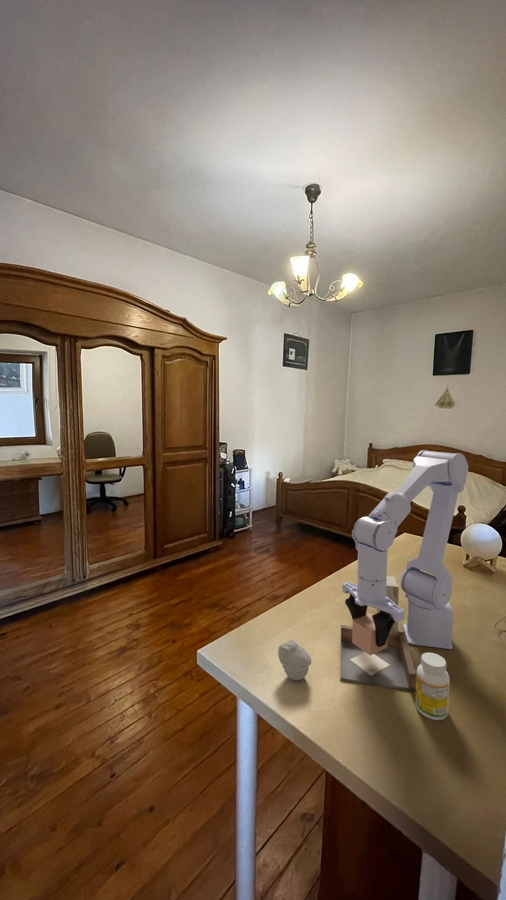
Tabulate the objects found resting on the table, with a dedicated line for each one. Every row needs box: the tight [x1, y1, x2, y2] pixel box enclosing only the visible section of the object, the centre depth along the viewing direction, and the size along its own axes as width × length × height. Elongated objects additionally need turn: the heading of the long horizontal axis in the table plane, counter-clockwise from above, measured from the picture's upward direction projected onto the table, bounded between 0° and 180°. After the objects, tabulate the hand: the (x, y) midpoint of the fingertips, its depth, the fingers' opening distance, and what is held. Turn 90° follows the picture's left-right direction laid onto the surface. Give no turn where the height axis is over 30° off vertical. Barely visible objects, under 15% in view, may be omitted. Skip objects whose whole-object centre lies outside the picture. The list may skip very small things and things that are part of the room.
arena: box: [339, 624, 417, 692], centre depth 81 cm, size 14×14×4 cm
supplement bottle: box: [415, 652, 451, 721], centre depth 68 cm, size 5×5×10 cm
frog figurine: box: [277, 639, 312, 681], centre depth 77 cm, size 6×7×7 cm
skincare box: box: [376, 575, 400, 632], centre depth 93 cm, size 6×4×12 cm
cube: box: [352, 613, 388, 655], centre depth 80 cm, size 5×5×5 cm
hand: (370, 637), depth 80 cm, fingers closed on cube, 5 cm apart
